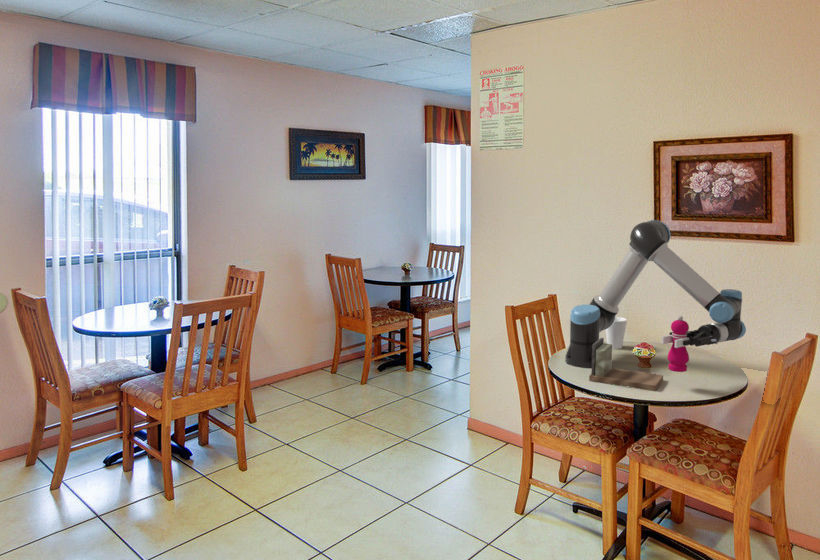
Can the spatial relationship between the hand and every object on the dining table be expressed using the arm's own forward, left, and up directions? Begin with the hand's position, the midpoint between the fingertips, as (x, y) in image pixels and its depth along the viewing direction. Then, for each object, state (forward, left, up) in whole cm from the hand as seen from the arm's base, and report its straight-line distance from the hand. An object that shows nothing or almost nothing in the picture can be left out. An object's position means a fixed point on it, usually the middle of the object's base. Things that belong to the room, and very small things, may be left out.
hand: (669, 342), depth 227 cm
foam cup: (-31, +50, -18) cm, 61 cm away
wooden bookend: (-15, +4, -18) cm, 24 cm away
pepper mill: (+3, +5, -11) cm, 12 cm away
